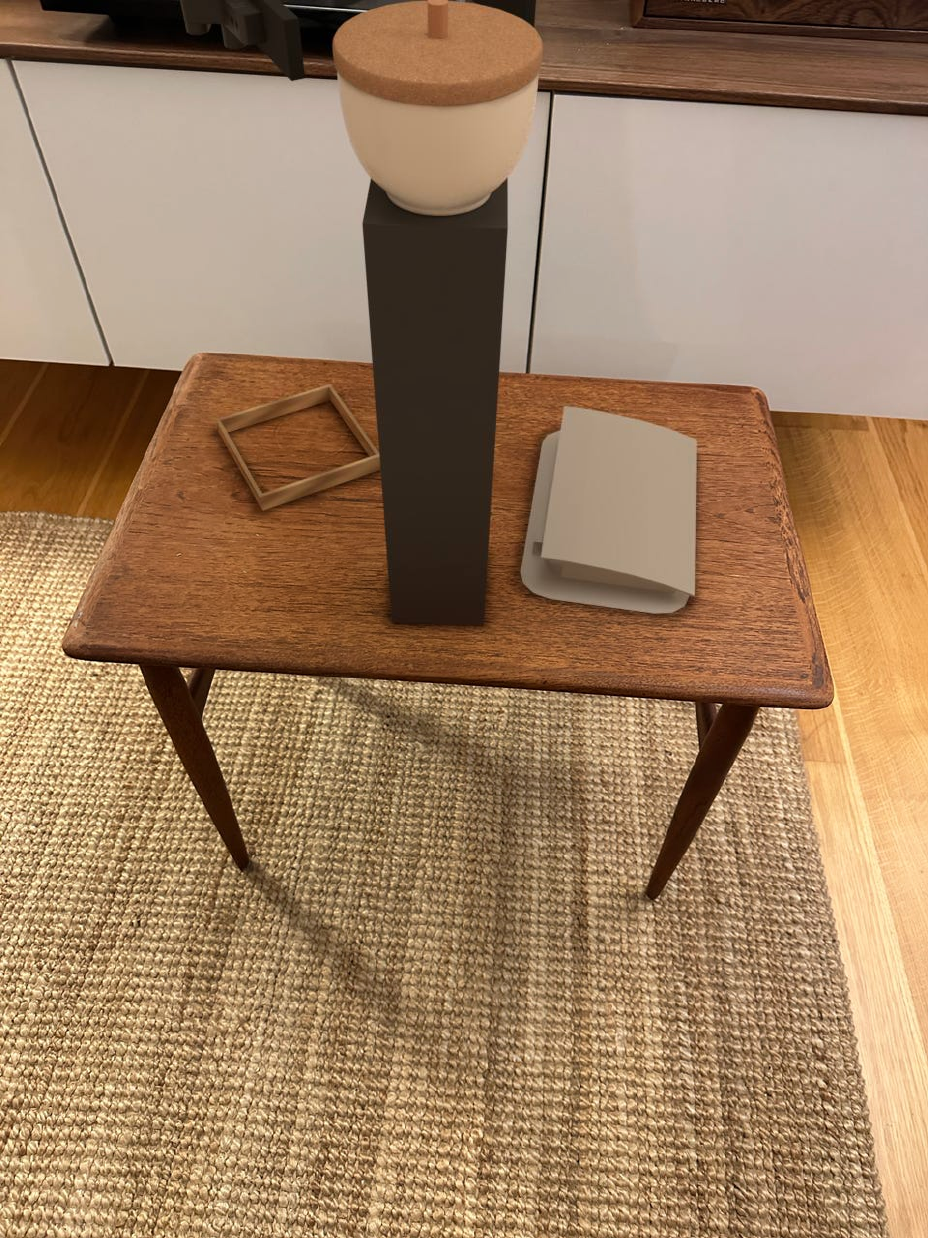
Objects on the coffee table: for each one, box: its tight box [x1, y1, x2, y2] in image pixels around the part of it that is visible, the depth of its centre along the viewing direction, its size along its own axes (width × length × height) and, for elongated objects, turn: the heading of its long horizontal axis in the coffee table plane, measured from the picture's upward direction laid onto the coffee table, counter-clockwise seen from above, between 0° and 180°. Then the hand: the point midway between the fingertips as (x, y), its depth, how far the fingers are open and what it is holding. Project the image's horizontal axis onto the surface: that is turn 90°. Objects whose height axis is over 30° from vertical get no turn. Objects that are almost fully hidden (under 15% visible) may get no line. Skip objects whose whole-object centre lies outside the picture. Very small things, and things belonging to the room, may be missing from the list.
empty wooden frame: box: [215, 383, 380, 511], centre depth 90 cm, size 13×13×2 cm
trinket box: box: [332, 0, 544, 216], centre depth 48 cm, size 11×11×9 cm
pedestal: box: [361, 176, 509, 627], centre depth 66 cm, size 8×8×36 cm
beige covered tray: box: [519, 405, 698, 615], centre depth 85 cm, size 15×23×4 cm, turn 170°
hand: (417, 27), depth 47 cm, fingers open, 13 cm apart
